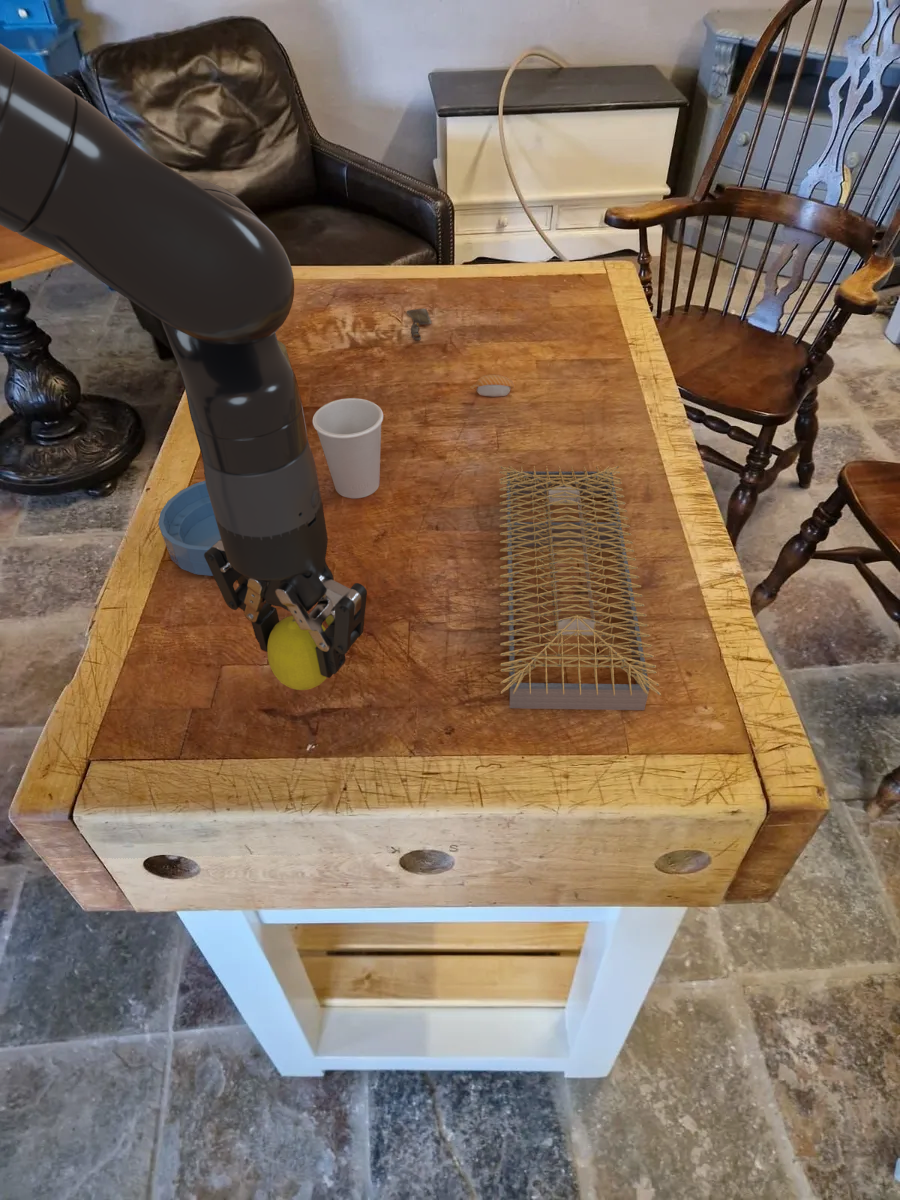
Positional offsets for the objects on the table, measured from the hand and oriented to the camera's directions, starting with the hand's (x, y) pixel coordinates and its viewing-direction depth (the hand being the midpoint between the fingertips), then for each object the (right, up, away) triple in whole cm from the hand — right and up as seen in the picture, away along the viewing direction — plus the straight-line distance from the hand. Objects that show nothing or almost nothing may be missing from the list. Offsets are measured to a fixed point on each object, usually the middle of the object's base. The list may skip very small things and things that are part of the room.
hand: (302, 656), depth 68 cm
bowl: (-14, +12, +26) cm, 32 cm away
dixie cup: (+1, +19, +33) cm, 38 cm away
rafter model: (+25, +6, +19) cm, 32 cm away
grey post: (+7, +50, +63) cm, 81 cm away
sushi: (+19, +35, +48) cm, 62 cm away
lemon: (0, -3, +3) cm, 4 cm away
